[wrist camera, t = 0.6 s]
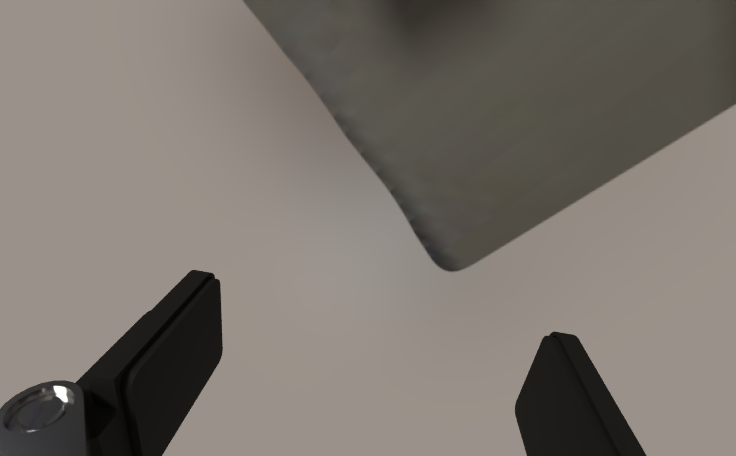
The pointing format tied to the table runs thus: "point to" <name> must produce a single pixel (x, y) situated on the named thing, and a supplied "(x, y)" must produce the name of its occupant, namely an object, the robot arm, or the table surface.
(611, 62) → the table surface
